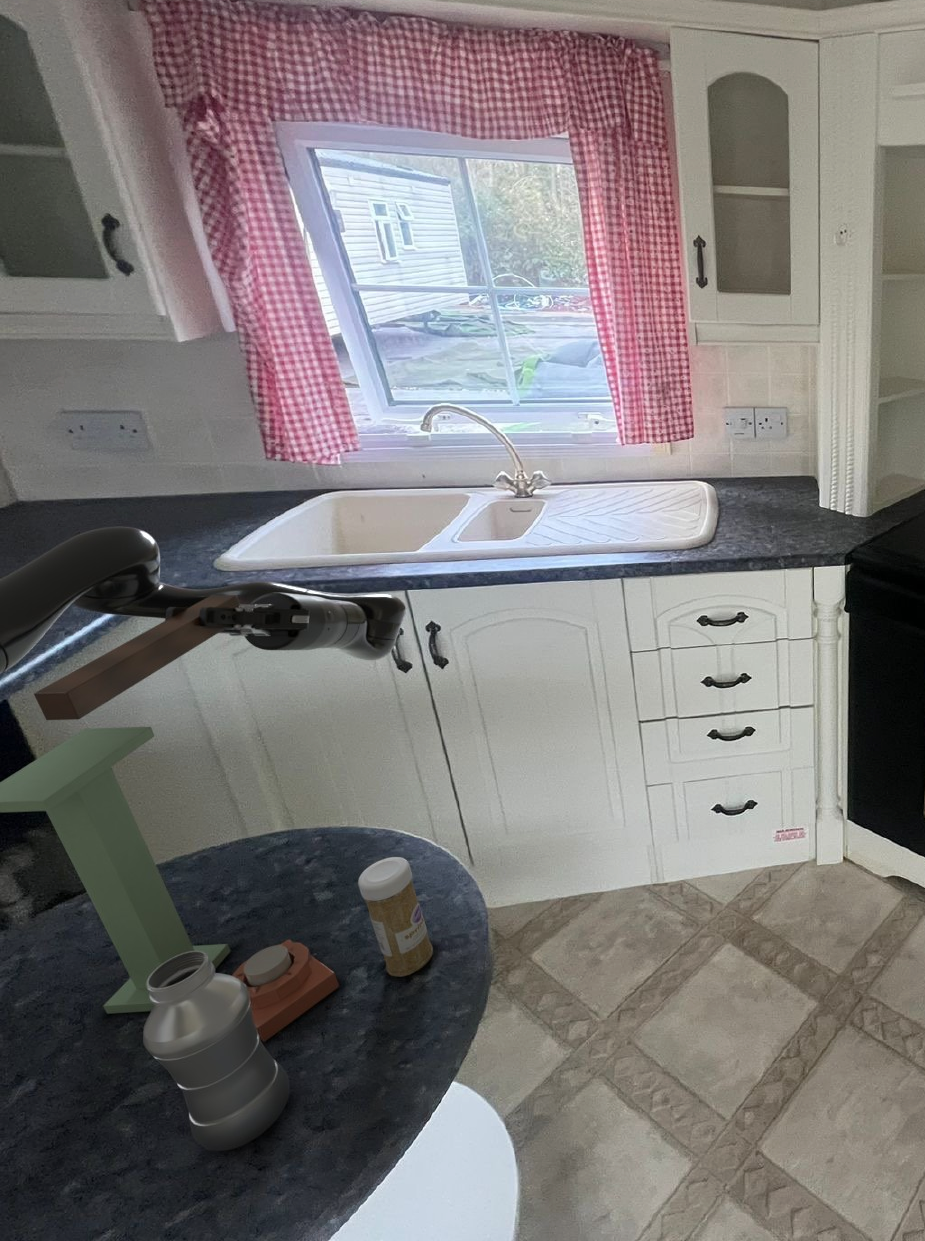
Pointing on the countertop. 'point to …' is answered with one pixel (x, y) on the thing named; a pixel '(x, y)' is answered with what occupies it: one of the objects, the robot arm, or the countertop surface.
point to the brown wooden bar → (129, 663)
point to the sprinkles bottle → (396, 915)
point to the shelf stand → (107, 852)
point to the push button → (267, 965)
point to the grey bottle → (213, 1051)
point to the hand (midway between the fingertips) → (186, 616)
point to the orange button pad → (289, 991)
